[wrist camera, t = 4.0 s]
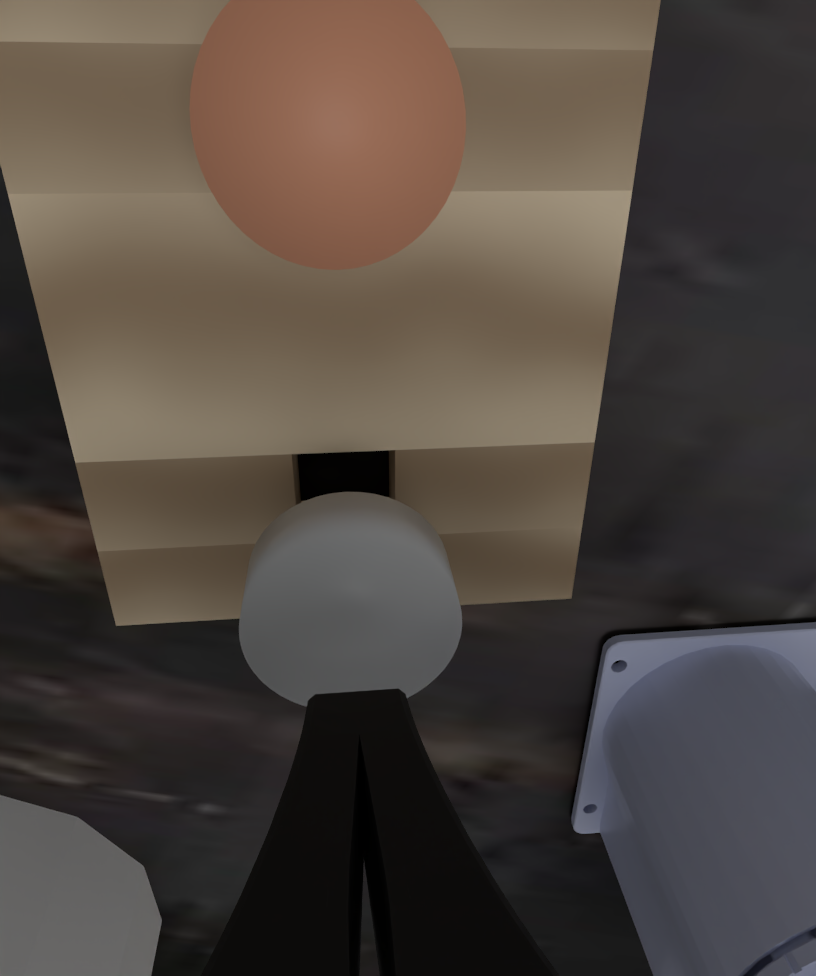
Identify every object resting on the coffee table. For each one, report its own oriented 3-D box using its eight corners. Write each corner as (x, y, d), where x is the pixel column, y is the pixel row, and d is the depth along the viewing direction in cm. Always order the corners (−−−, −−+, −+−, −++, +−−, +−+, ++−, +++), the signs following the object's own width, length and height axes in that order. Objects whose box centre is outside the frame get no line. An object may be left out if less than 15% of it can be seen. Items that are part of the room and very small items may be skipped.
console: (550, 556, 21) (571, 598, 19) (134, 579, 20) (116, 625, 18) (631, -84, 14) (676, -110, 12) (-20, -105, 13) (-76, -137, 11)
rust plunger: (429, 228, 15) (460, 267, 11) (236, 230, 14) (209, 271, 11) (434, -2, 13) (473, -37, 10) (211, -7, 13) (168, -44, 9)
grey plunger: (431, 584, 17) (457, 704, 14) (265, 594, 17) (251, 719, 13) (436, 435, 15) (467, 532, 12) (248, 442, 15) (226, 544, 12)
